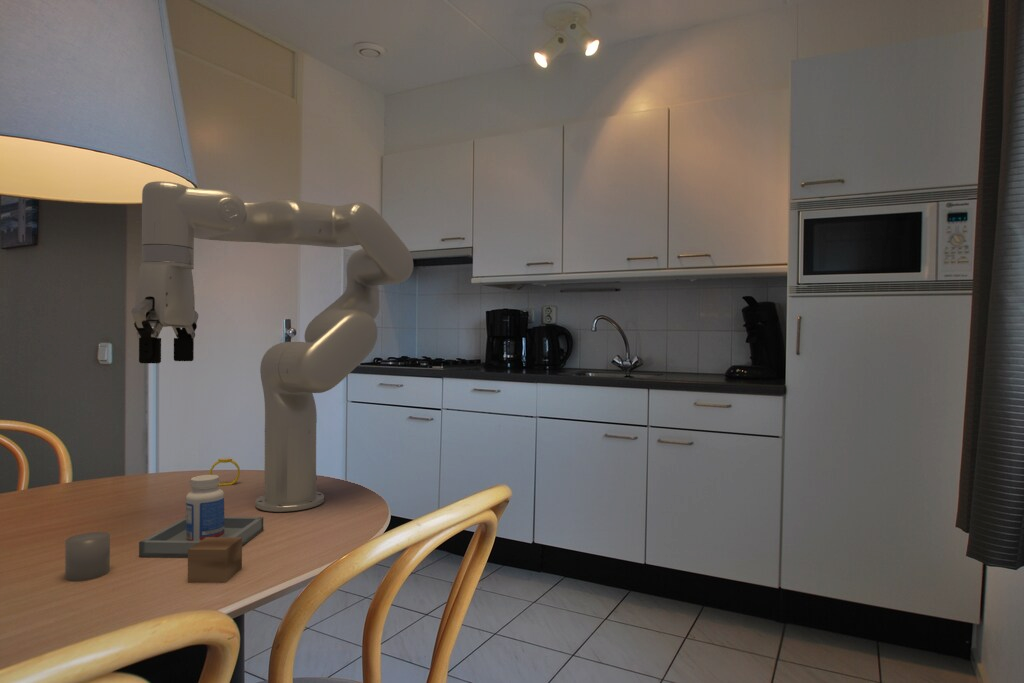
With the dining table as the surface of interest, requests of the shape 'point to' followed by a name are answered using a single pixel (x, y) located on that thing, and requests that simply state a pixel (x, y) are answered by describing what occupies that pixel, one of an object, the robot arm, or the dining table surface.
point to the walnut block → (214, 560)
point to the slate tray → (176, 544)
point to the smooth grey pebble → (87, 556)
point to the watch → (225, 460)
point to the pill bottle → (204, 509)
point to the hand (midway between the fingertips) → (167, 362)
